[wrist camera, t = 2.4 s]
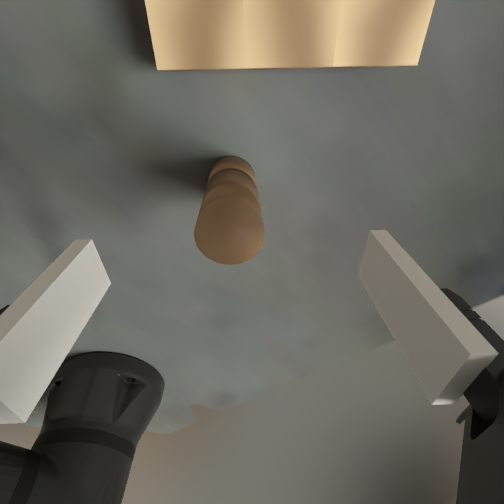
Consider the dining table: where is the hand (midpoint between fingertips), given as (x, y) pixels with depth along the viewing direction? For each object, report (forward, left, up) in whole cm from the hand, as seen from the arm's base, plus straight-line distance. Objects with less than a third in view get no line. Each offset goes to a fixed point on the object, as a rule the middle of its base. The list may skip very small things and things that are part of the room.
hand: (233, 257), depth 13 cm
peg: (0, 0, -12) cm, 12 cm away
